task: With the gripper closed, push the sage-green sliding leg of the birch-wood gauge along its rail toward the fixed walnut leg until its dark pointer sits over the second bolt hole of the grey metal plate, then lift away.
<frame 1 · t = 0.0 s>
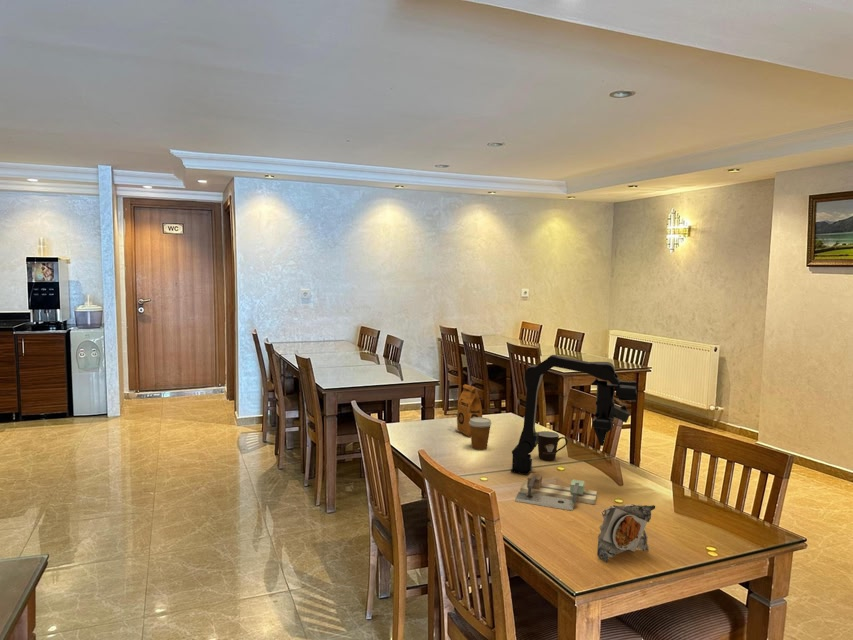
hand: (602, 442, 197), 15 cm above the table, tool pointing down, fingers open, 9 cm apart
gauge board: (558, 494, 187), on the table
slider leg: (576, 491, 181), point 3 cm above the table, slide at 10.0 cm
coffee mug: (550, 459, 223), on the table
disposable coffee cup: (479, 448, 236), on the table
bolt hole plate: (544, 502, 180), on the table
coffee package: (469, 434, 257), on the table
meal: (625, 556, 146), on the table
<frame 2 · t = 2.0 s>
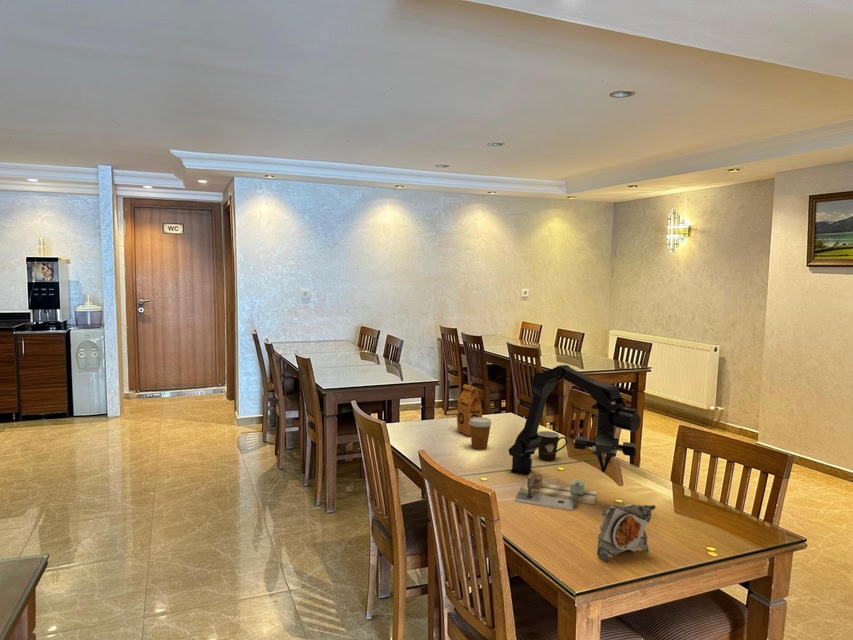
hand: (603, 471, 181), 10 cm above the table, tool pointing down, fingers closed
nothing on the table moved.
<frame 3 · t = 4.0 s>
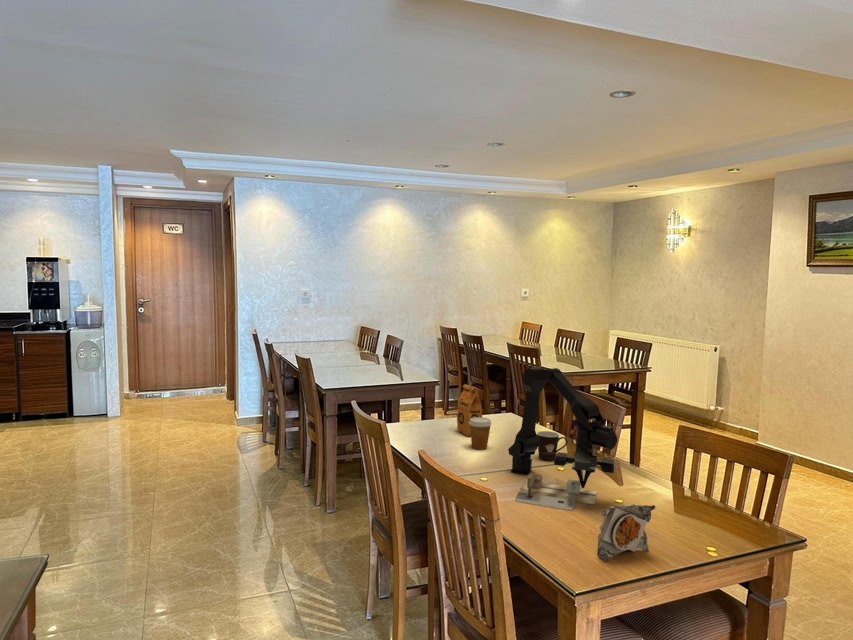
hand: (582, 487, 184), 3 cm above the table, tool pointing down, fingers closed
slider leg: (572, 490, 182), point 3 cm above the table, slide at 8.7 cm, touching gripper
everything else where it was.
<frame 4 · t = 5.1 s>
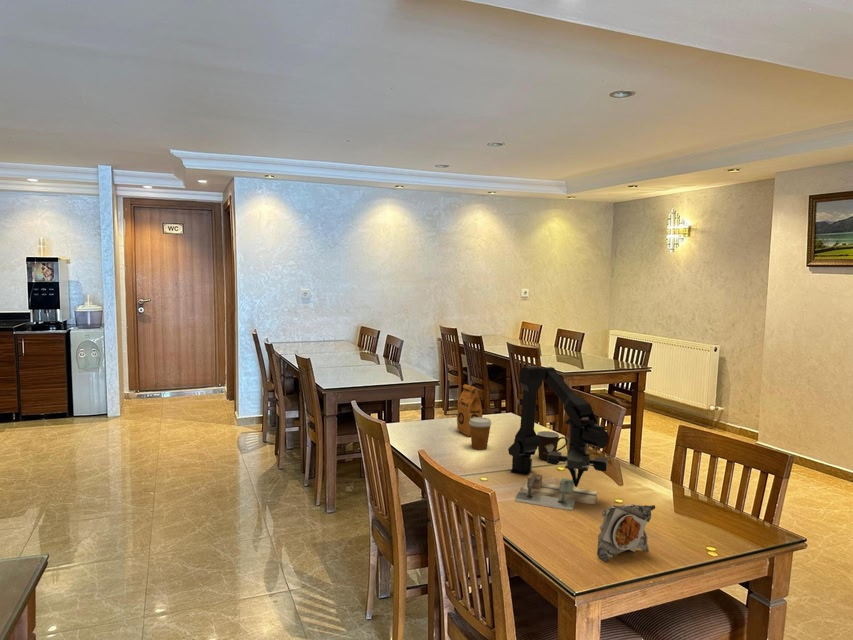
hand: (576, 486, 185), 4 cm above the table, tool pointing down, fingers closed
slider leg: (565, 489, 182), point 3 cm above the table, slide at 6.6 cm, touching gripper
everything else where it was.
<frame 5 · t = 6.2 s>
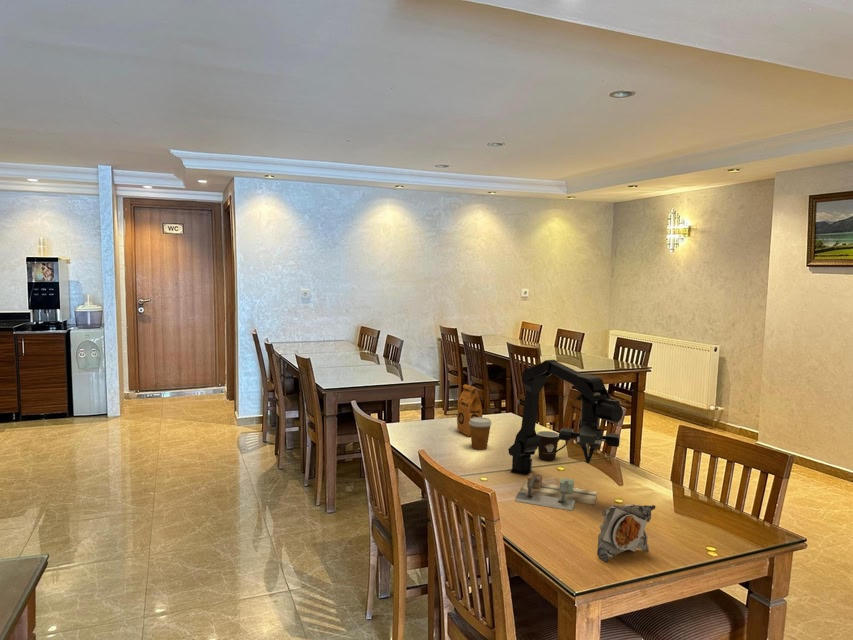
hand: (588, 462, 183), 12 cm above the table, tool pointing down, fingers closed
slider leg: (565, 489, 182), point 3 cm above the table, slide at 6.6 cm
everything else where it was.
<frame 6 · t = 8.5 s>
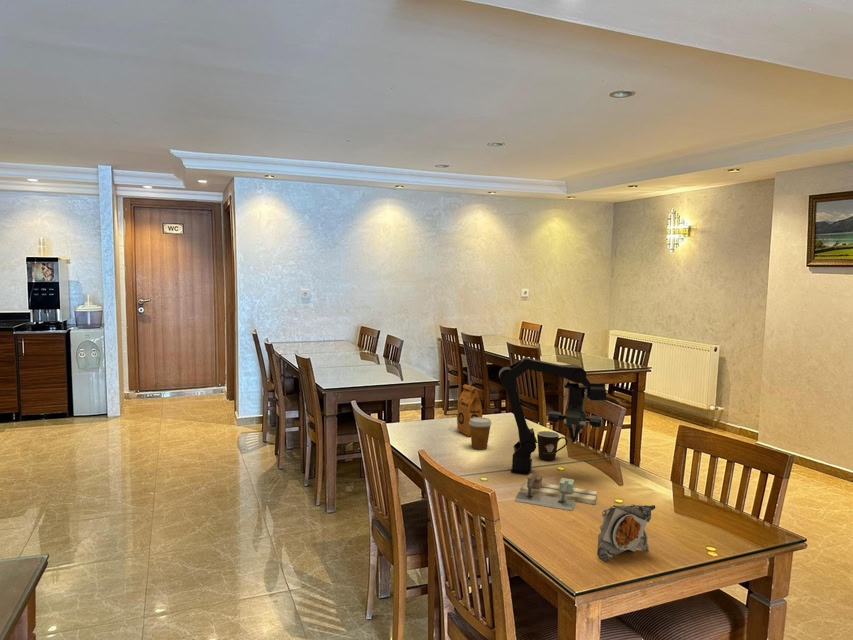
hand: (573, 442, 206), 12 cm above the table, tool pointing down, fingers closed
nothing on the table moved.
at the end: slider leg slide at 6.6 cm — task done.
